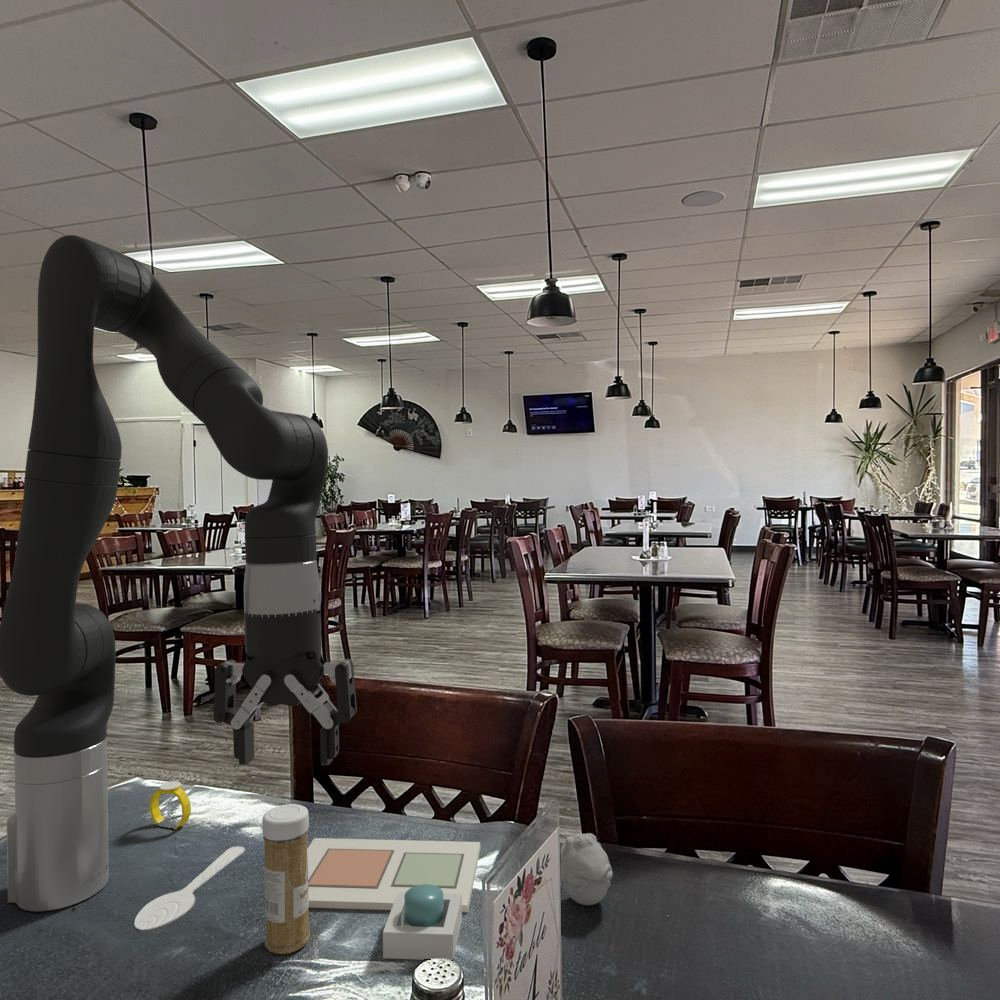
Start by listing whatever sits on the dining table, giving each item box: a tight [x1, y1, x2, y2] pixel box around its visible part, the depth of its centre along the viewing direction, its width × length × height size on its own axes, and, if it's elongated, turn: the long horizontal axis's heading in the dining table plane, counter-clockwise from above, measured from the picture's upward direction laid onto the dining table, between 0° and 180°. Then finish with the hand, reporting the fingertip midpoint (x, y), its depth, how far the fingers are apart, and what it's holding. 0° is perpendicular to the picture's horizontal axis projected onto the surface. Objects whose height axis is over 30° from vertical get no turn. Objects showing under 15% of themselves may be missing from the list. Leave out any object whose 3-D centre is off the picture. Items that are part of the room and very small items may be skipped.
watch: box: [149, 780, 192, 829], centre depth 98 cm, size 6×3×6 cm, turn 72°
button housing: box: [382, 892, 463, 961], centre depth 72 cm, size 7×7×3 cm
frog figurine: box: [560, 832, 614, 906], centre depth 79 cm, size 6×7×7 cm
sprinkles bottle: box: [261, 803, 311, 955], centre depth 72 cm, size 5×5×14 cm
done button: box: [404, 884, 443, 927], centre depth 72 cm, size 4×4×2 cm
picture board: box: [307, 837, 481, 913], centre depth 84 cm, size 22×14×1 cm, turn 86°
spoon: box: [133, 845, 246, 931], centre depth 83 cm, size 5×18×1 cm, turn 167°
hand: (287, 762), depth 72 cm, fingers open, 8 cm apart
